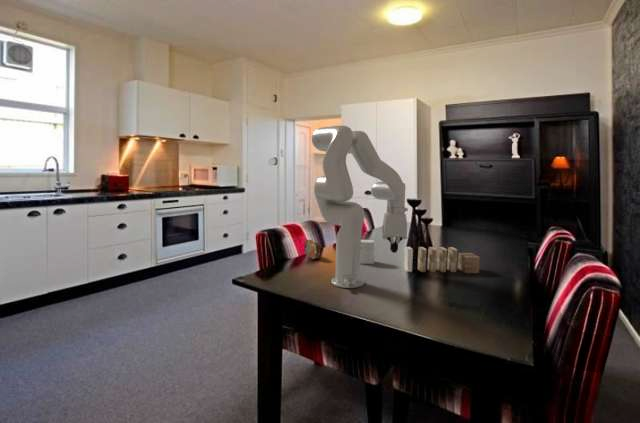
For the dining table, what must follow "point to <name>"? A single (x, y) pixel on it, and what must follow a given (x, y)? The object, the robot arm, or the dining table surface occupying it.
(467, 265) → the end block
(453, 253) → the domino
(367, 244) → the small box
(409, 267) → the domino
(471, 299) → the dining table surface
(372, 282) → the dining table surface
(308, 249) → the tin
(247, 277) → the dining table surface
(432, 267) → the domino
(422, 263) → the domino
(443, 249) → the domino
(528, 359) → the dining table surface
